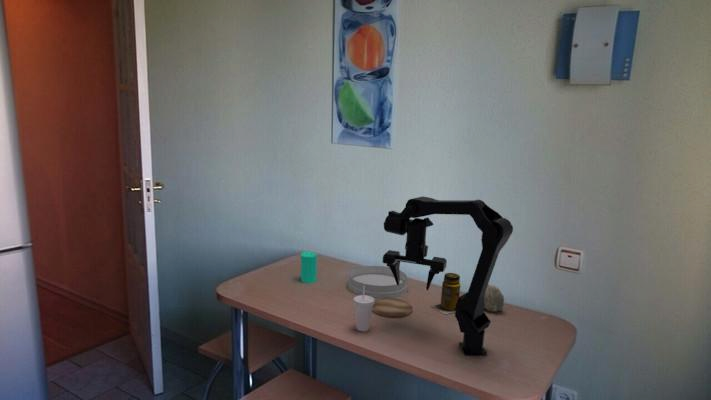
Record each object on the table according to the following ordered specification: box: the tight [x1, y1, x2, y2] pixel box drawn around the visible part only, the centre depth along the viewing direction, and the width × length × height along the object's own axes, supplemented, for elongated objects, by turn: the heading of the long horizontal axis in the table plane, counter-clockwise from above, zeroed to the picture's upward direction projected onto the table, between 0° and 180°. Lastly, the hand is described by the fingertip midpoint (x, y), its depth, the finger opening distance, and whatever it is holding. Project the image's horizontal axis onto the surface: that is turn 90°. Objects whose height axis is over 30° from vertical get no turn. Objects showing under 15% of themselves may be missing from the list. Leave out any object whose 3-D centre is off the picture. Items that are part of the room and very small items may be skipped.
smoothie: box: [353, 286, 375, 332], centre depth 152 cm, size 6×6×14 cm
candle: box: [300, 251, 318, 284], centre depth 191 cm, size 6×6×12 cm
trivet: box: [372, 297, 413, 319], centre depth 168 cm, size 14×14×1 cm
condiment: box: [430, 272, 461, 315], centre depth 170 cm, size 7×8×12 cm
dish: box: [347, 265, 408, 299], centre depth 188 cm, size 22×22×5 cm
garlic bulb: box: [484, 283, 505, 312], centre depth 171 cm, size 9×8×10 cm
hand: (412, 287), depth 153 cm, fingers open, 9 cm apart
